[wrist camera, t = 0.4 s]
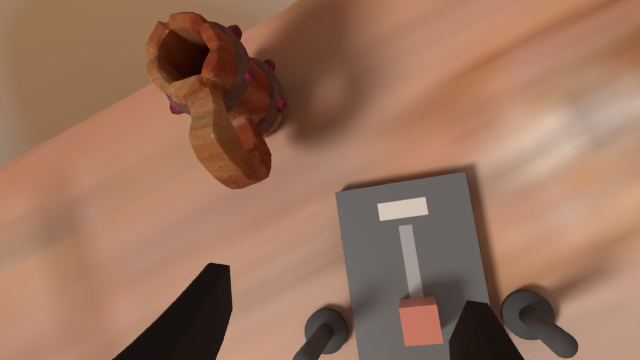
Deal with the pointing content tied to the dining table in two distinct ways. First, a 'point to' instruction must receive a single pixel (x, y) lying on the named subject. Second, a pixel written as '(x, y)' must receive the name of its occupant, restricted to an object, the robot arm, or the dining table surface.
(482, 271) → the breaker panel
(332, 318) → the post
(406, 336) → the knob
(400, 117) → the dining table surface
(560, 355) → the post
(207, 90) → the mug
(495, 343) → the robot arm
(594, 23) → the dining table surface
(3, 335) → the dining table surface
